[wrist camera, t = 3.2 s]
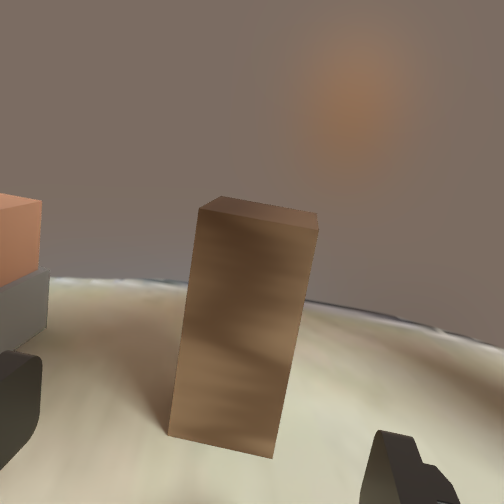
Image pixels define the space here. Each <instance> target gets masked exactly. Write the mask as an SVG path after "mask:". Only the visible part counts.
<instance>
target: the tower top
mask: <svg viewBox="0 0 504 504" xmlns="http://www.w3.org/2000/svg"><path fill="white" fill-rule="evenodd" d="M41 211H42V201H40V200H35V199H29V198H23V197H18V196H13V195H8V194H2V193H0V287H2V286H4V285H7V284H9V283H11V282H13V281H15V280H17V279H19V278H21V277H23V276H26V275H28V274H30V273H32V272H34V271H36V270H38V261H39V245H40V228H41Z"/></svg>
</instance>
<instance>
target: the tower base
mask: <svg viewBox="0 0 504 504" xmlns="http://www.w3.org/2000/svg"><path fill="white" fill-rule="evenodd" d="M49 279H50V269H48V268H43V267H38V270H36V271H34V272H32V273H30V274H28V275H26V276H23V277H21V278H19V279H17V280H15V281H13V282H11V283H9V284H7V285H4V286H2V287H0V354H1V353H2V352H4V351H6V350H11V351H14V350H15V349H17V348H18V347H19V346H21V345H22V344H24V343H25V342H27V341H28V340H29V339H31V338H32V337H34V336H35V335H37V334H38V333H39V332H41V331H42V330H44V329H45V328H46V327H47V311H48V295H49Z"/></svg>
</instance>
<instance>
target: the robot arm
mask: <svg viewBox="0 0 504 504" xmlns="http://www.w3.org/2000/svg"><path fill="white" fill-rule="evenodd" d="M41 381H42V361H41V358H40V357H38V356H34V355H30V354H25V353H20V352H15V351H11V350H6V351H4V352H2V353H1V354H0V470H1V469H2V468H3V467H4V466H5V465H6V464H7V463H8V462H9V461H10V460H11V459H12V458H13V457H14V455H15V454H16V453H17V452H18V451H19V450H20V449H21V448H22V447H23V446H24V445H25V444H26V443H27V442H28V441H29V439H30V438H31V436H32V434H33V433H34V431H35V428H36V426H37V423H38V419H39V413H40V398H41ZM359 504H460V501H459V499H458V497H457V494H456V492H455V490H454V488H453V485H452V484H451V483H450V482H449V481H448V479H447V478H446V477H445V476H444V475H443V474H442V473H441V472H440V471H439V469H438V468H437V467H436V466H434V465H429V464H425V463H423V462H422V459H421V457H420V454H419V451H418V448H417V446H416V443H415V441H414V439H413V437H411V436H406V435H401V434H397V433H392V432H387V431H382V430H378V431H377V432H376V434H375V437H374V440H373V444H372V448H371V452H370V456H369V460H368V463H367V467H366V471H365V475H364V479H363V483H362V487H361V492H360V499H359Z"/></svg>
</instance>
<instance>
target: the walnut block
mask: <svg viewBox="0 0 504 504" xmlns="http://www.w3.org/2000/svg"><path fill="white" fill-rule="evenodd" d="M318 232H319V228H318V221H317V214H316V213H311V212H306V211H301V210H295V209H289V208H284V207H279V206H273V205H268V204H262V203H256V202H251V201H246V200H240V199H235V198H229V197H223V196H220V197H218V198H217V199H215V200H213V201H211V202H209V203H208V204H206V205H204V206H202V207H200V208H199V212H198V219H197V226H196V234H195V240H194V248H193V255H192V262H191V269H190V277H189V284H188V291H187V298H186V305H185V313H184V320H183V327H182V334H181V341H180V349H179V356H178V363H177V370H176V377H175V385H174V392H173V399H172V406H171V414H170V421H169V428H168V436H172V437H177V438H181V439H186V440H190V441H195V442H199V443H204V444H208V445H212V446H217V447H221V448H226V449H230V450H235V451H239V452H244V453H248V454H253V455H257V456H262V457H266V458H271V459H272V458H273V453H274V448H275V443H276V438H277V433H278V428H279V423H280V418H281V413H282V409H283V404H284V399H285V394H286V389H287V384H288V379H289V374H290V369H291V364H292V359H293V355H294V350H295V345H296V340H297V335H298V330H299V325H300V320H301V315H302V310H303V305H304V301H305V296H306V291H307V286H308V281H309V275H310V271H311V266H312V261H313V256H314V251H315V247H316V242H317V236H318Z"/></svg>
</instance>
